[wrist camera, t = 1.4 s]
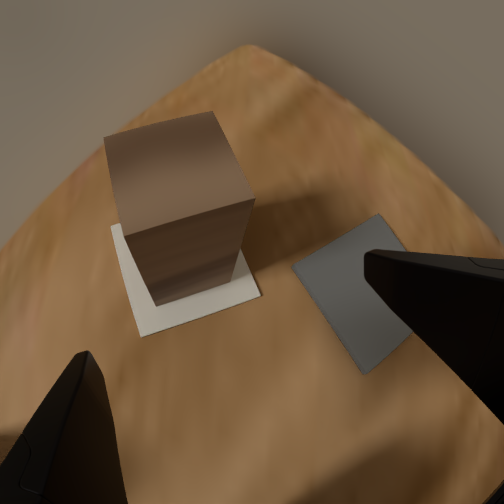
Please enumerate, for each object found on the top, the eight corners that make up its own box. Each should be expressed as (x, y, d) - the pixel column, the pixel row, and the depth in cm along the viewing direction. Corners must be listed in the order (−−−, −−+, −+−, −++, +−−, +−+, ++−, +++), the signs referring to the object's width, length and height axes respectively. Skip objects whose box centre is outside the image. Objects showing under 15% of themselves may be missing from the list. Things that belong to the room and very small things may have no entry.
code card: (260, 296, 24) (260, 295, 23) (141, 337, 21) (140, 336, 21) (217, 195, 26) (217, 194, 26) (111, 227, 24) (110, 226, 24)
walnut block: (230, 282, 23) (255, 197, 14) (156, 306, 22) (123, 236, 12) (204, 217, 25) (212, 111, 15) (135, 238, 24) (103, 137, 14)
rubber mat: (436, 305, 26) (440, 303, 25) (363, 374, 22) (366, 373, 22) (375, 216, 28) (378, 213, 28) (291, 267, 25) (293, 264, 24)
